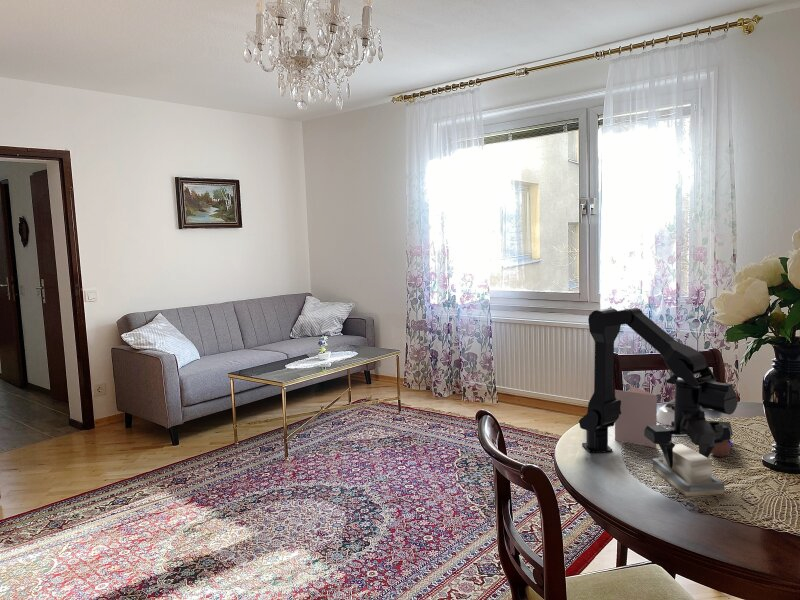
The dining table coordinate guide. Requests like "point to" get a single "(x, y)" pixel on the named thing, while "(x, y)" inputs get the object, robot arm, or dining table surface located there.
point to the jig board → (685, 488)
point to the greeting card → (635, 416)
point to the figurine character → (723, 444)
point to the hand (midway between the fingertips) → (686, 466)
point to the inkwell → (666, 413)
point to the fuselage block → (690, 465)
